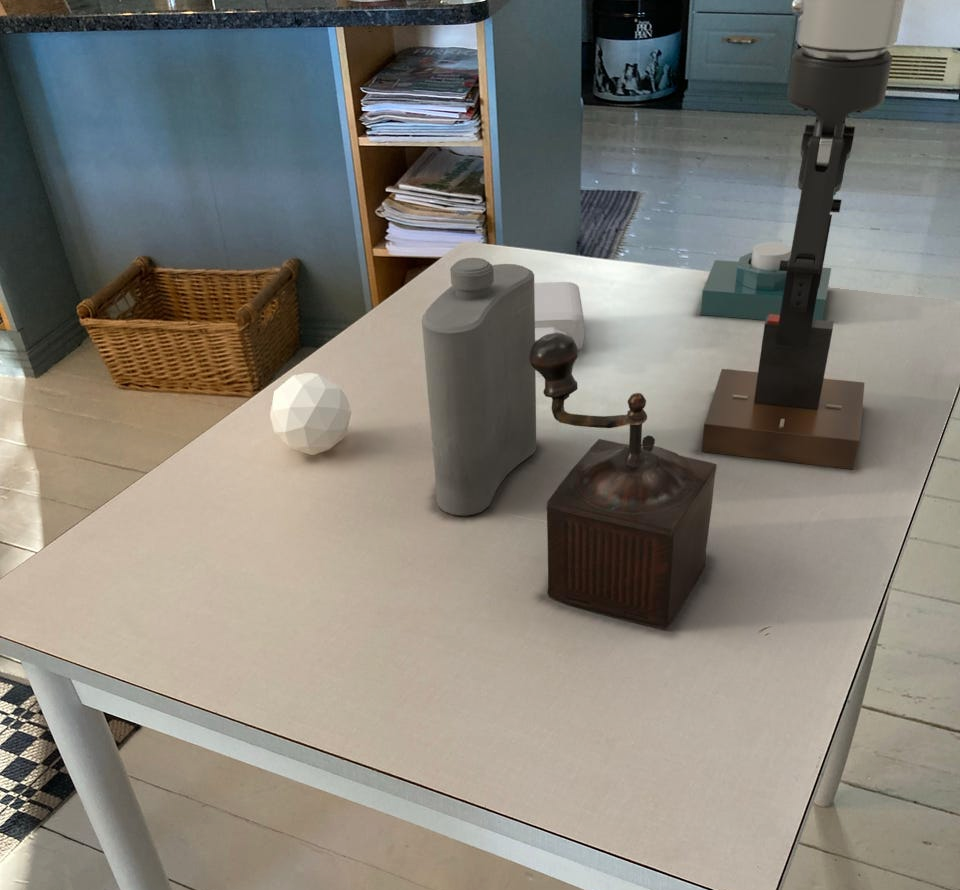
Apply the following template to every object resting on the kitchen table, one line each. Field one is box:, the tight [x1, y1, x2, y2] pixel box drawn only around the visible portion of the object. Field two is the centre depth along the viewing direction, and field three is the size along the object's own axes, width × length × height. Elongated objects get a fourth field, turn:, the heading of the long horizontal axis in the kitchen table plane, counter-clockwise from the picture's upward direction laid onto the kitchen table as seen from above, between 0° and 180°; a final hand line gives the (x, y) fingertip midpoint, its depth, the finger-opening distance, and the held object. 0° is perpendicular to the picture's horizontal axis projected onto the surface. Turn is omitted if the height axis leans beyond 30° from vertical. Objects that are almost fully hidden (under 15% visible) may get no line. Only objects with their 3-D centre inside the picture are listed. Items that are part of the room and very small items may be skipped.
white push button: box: [751, 241, 792, 270], centre depth 121 cm, size 4×4×2 cm
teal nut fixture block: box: [699, 252, 832, 321], centre depth 123 cm, size 14×10×5 cm
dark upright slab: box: [754, 314, 835, 409], centre depth 97 cm, size 6×2×8 cm, turn 72°
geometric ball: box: [269, 372, 352, 456], centre depth 100 cm, size 8×8×8 cm
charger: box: [534, 281, 585, 351], centre depth 116 cm, size 5×9×15 cm
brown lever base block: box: [700, 368, 865, 470], centre depth 100 cm, size 14×12×3 cm
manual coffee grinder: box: [529, 333, 717, 631], centre depth 79 cm, size 16×11×18 cm
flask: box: [421, 257, 537, 517], centre depth 91 cm, size 15×6×20 cm, turn 154°
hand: (798, 313), depth 94 cm, fingers open, 13 cm apart
